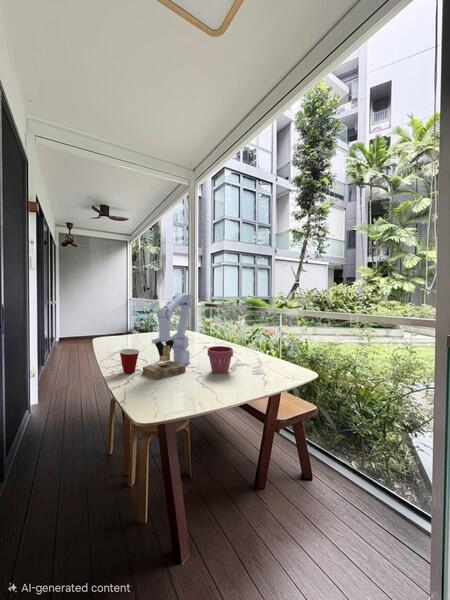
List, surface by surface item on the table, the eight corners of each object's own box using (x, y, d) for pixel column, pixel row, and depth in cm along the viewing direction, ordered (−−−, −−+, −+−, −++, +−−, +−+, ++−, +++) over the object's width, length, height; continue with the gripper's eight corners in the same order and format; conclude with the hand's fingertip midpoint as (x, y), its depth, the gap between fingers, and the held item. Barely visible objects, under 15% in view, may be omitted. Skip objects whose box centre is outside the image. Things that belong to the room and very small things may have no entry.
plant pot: (230, 376, 138) (231, 352, 138) (204, 374, 141) (204, 350, 140) (234, 368, 152) (234, 346, 152) (210, 367, 155) (210, 345, 154)
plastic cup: (135, 375, 138) (135, 352, 138) (115, 375, 139) (115, 352, 138) (142, 369, 149) (142, 348, 149) (123, 369, 149) (123, 348, 149)
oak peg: (165, 359, 146) (165, 344, 146) (170, 360, 143) (170, 345, 143) (159, 360, 143) (159, 345, 143) (163, 361, 140) (163, 346, 140)
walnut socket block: (170, 366, 155) (170, 360, 155) (185, 371, 145) (185, 365, 145) (142, 373, 142) (142, 366, 142) (157, 379, 132) (157, 372, 132)
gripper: (156, 332, 135) (156, 358, 135) (179, 329, 145) (179, 354, 146) (149, 330, 140) (149, 356, 140) (172, 328, 150) (172, 351, 151)
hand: (164, 354), depth 143 cm, fingers closed on oak peg, 4 cm apart
